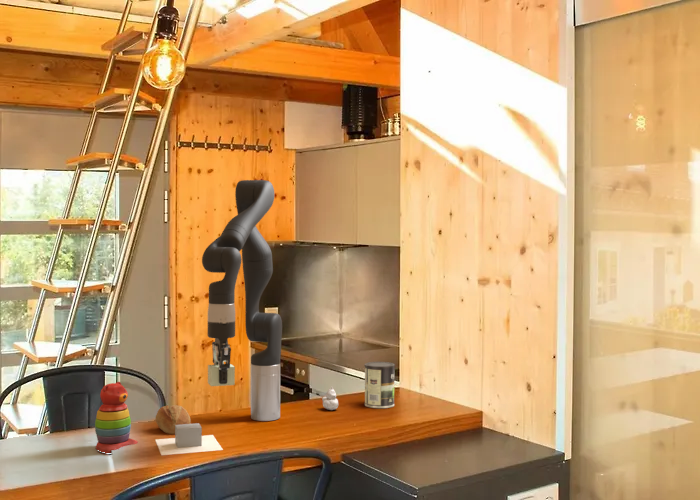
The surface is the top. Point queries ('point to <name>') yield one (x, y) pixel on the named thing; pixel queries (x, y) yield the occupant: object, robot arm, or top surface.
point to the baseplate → (170, 447)
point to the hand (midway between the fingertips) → (221, 381)
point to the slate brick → (188, 435)
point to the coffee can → (379, 384)
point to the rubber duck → (330, 400)
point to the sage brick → (214, 375)
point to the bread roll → (171, 418)
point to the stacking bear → (113, 419)
